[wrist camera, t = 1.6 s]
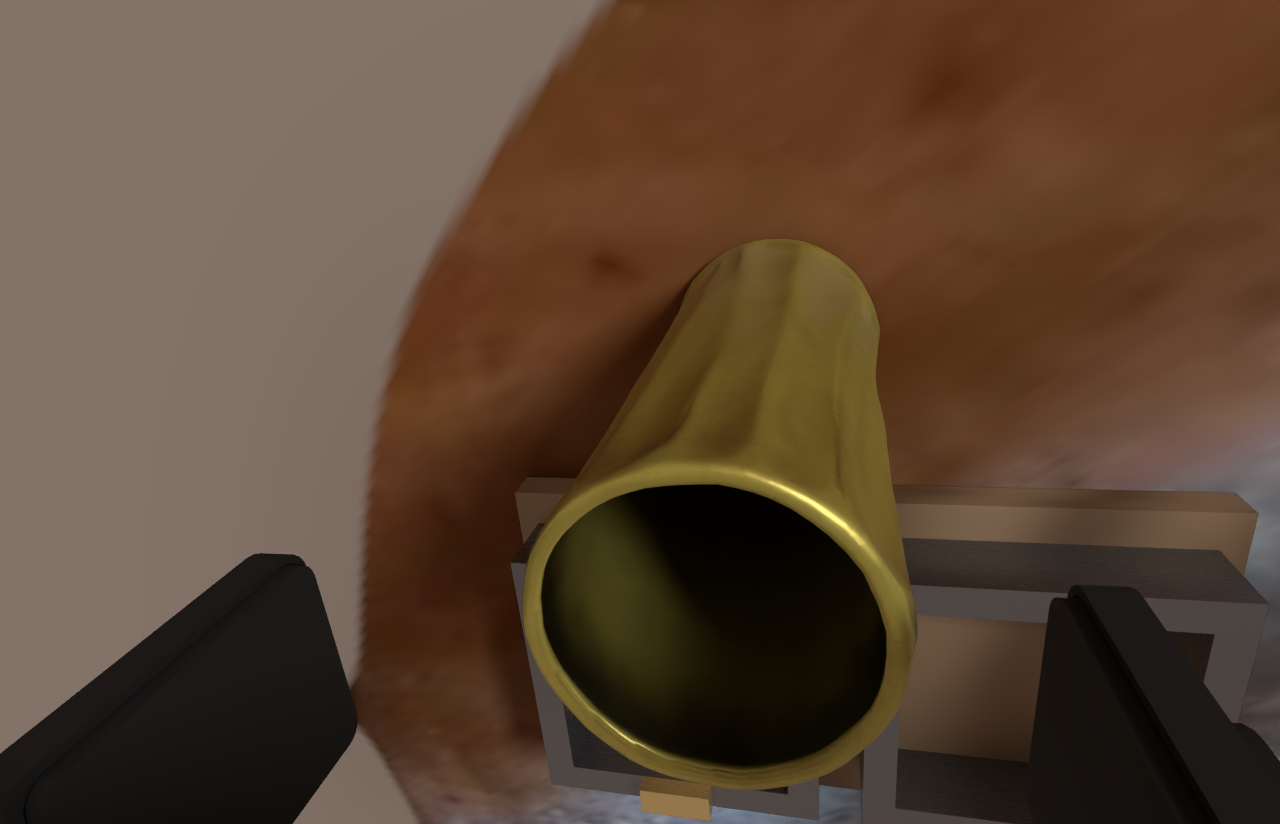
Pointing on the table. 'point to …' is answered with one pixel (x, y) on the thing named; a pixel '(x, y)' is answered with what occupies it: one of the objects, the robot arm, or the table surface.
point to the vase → (736, 539)
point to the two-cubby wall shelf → (964, 588)
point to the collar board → (995, 649)
